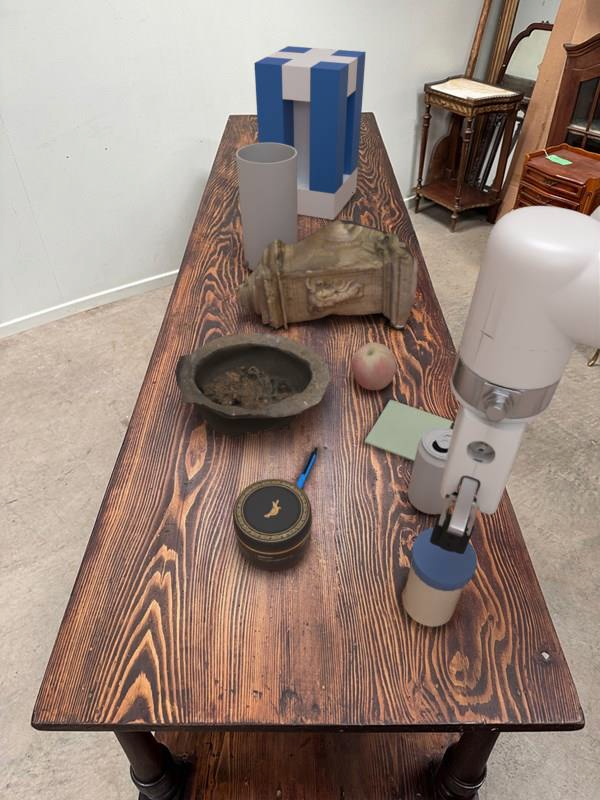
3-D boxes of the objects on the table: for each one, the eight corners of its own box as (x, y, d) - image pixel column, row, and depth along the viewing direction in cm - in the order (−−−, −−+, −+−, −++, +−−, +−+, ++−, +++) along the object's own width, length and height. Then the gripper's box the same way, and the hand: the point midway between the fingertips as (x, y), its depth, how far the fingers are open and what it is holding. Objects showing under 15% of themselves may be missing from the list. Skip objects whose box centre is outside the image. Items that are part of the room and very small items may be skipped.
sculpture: (424, 238, 93) (223, 256, 94) (418, 334, 106) (242, 347, 108) (407, 198, 106) (232, 214, 108) (404, 287, 119) (248, 300, 121)
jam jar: (460, 592, 67) (479, 546, 60) (445, 636, 63) (463, 592, 56) (413, 570, 69) (425, 523, 62) (395, 611, 65) (406, 566, 58)
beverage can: (398, 500, 77) (409, 444, 69) (421, 474, 81) (435, 417, 72) (437, 525, 74) (454, 469, 66) (460, 496, 77) (479, 440, 69)
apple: (358, 365, 99) (361, 330, 94) (398, 376, 97) (404, 340, 92) (343, 392, 94) (346, 356, 88) (385, 404, 92) (391, 368, 86)
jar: (313, 512, 75) (314, 478, 70) (309, 578, 68) (310, 546, 63) (242, 509, 76) (237, 474, 70) (231, 574, 68) (225, 541, 63)
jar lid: (481, 551, 61) (484, 542, 60) (463, 603, 56) (467, 595, 55) (422, 525, 63) (424, 517, 62) (400, 573, 59) (402, 565, 57)
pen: (319, 450, 84) (319, 446, 83) (273, 553, 71) (273, 548, 70) (313, 449, 84) (313, 444, 83) (267, 551, 71) (266, 546, 70)
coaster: (452, 422, 88) (453, 421, 88) (431, 468, 81) (431, 466, 81) (389, 401, 92) (390, 399, 92) (364, 442, 85) (364, 440, 85)
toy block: (356, 190, 159) (365, 51, 135) (333, 219, 144) (339, 70, 121) (290, 181, 164) (288, 46, 140) (262, 208, 150) (254, 62, 126)
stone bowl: (177, 463, 82) (166, 416, 76) (190, 368, 101) (182, 326, 95) (338, 451, 83) (340, 404, 77) (320, 360, 102) (321, 317, 97)
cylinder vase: (255, 247, 133) (248, 140, 116) (303, 253, 131) (303, 145, 114) (237, 272, 124) (227, 160, 107) (289, 279, 122) (287, 166, 105)
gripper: (544, 472, 34) (479, 602, 46) (563, 327, 46) (507, 460, 58) (428, 437, 36) (394, 570, 48) (474, 307, 48) (438, 439, 60)
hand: (456, 509), depth 53 cm, fingers open, 8 cm apart
